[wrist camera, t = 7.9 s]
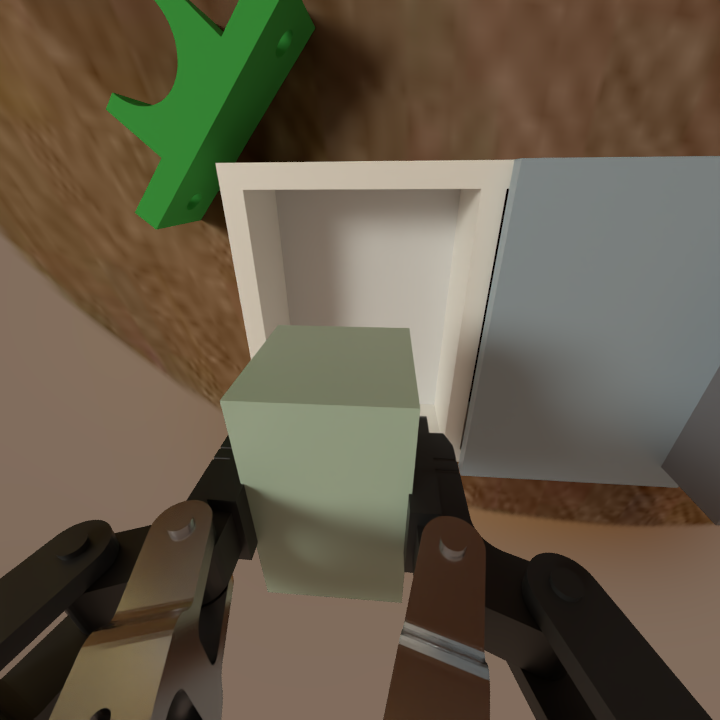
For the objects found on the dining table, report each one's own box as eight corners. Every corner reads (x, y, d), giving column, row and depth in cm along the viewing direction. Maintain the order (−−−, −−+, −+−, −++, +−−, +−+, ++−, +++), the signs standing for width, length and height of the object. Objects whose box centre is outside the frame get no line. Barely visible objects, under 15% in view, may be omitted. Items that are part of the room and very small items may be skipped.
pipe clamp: (250, -45, 15) (198, -132, 11) (316, 30, 16) (292, -24, 12) (144, 173, 19) (79, 170, 15) (201, 220, 20) (154, 230, 16)
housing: (739, 162, 16) (866, 156, 12) (621, 419, 24) (672, 473, 20) (257, 166, 18) (215, 163, 14) (288, 405, 26) (267, 451, 21)
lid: (862, 155, 12) (1081, 144, 8) (667, 476, 19) (734, 548, 16) (514, 159, 13) (567, 150, 9) (458, 465, 20) (473, 530, 17)
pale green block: (409, 327, 10) (420, 408, 6) (398, 490, 13) (401, 602, 10) (278, 324, 10) (220, 400, 7) (299, 485, 14) (268, 591, 10)
